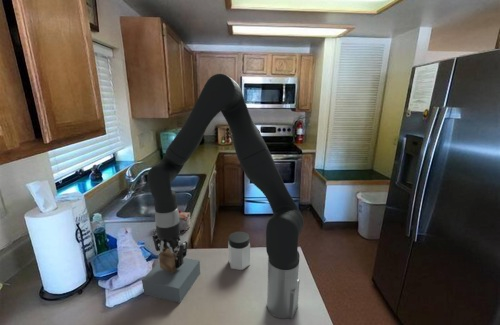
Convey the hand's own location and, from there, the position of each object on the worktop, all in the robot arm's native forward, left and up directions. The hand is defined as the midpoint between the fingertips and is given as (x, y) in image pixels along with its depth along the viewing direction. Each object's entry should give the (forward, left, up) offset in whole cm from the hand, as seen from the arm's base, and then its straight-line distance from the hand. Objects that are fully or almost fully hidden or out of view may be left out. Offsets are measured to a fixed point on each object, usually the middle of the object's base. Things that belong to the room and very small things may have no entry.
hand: (171, 264), depth 82 cm
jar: (-16, -20, -8) cm, 27 cm away
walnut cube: (0, 0, -1) cm, 1 cm away
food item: (+25, -29, -8) cm, 40 cm away
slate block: (0, 0, -8) cm, 8 cm away
